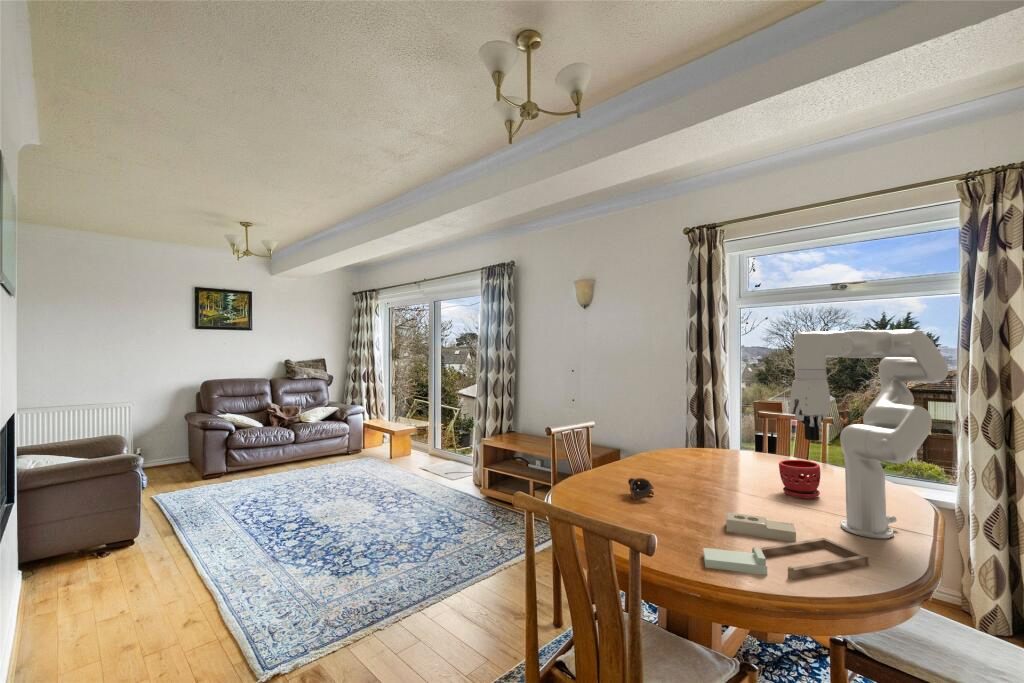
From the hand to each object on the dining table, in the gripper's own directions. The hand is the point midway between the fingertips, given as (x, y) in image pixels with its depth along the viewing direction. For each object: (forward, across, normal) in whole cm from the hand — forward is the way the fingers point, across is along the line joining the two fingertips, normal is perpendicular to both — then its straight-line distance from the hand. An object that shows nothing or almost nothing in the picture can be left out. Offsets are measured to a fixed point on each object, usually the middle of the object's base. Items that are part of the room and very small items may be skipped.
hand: (812, 439), depth 131 cm
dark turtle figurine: (+29, +25, -51) cm, 64 cm away
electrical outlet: (+30, +9, -11) cm, 33 cm away
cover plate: (+30, +31, +4) cm, 43 cm away
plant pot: (+29, -32, -34) cm, 55 cm away
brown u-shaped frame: (+29, +11, +8) cm, 32 cm away
